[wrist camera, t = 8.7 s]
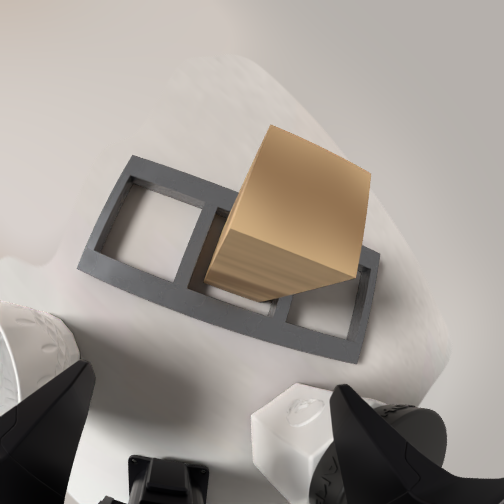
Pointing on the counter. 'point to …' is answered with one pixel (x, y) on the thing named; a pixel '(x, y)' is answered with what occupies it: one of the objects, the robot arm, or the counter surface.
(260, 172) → the oak block
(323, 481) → the jar
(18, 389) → the white cup
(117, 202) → the rail plate
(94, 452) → the counter surface
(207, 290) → the counter surface
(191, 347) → the counter surface
